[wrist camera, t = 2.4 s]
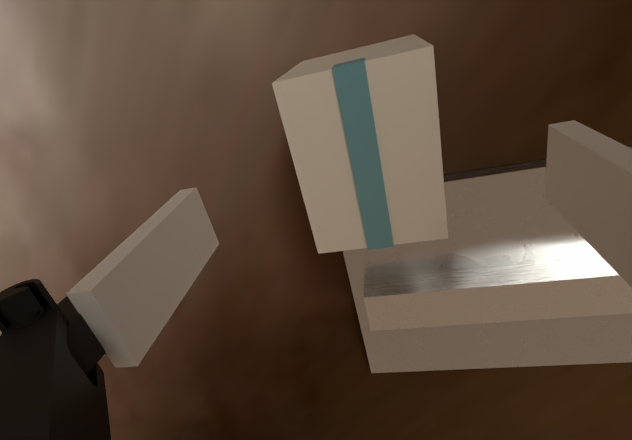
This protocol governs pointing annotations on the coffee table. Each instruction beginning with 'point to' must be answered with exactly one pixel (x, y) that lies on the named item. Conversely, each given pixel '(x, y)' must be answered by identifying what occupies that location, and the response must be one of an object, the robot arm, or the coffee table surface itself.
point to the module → (367, 144)
